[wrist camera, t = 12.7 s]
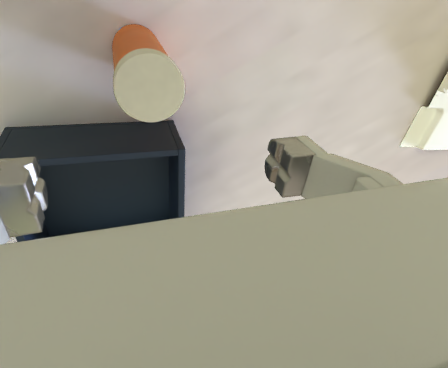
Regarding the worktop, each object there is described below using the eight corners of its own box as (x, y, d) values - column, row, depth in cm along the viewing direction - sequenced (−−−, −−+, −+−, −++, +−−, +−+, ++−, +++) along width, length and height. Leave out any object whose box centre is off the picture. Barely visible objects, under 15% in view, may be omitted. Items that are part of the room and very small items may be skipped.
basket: (44, 238, 33) (35, 282, 28) (4, 127, 25) (-17, 163, 21) (174, 220, 37) (183, 256, 33) (173, 120, 30) (185, 149, 25)
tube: (114, 74, 26) (117, 124, 18) (107, 21, 23) (108, 52, 15) (161, 74, 27) (184, 121, 19) (160, 23, 24) (185, 53, 17)
